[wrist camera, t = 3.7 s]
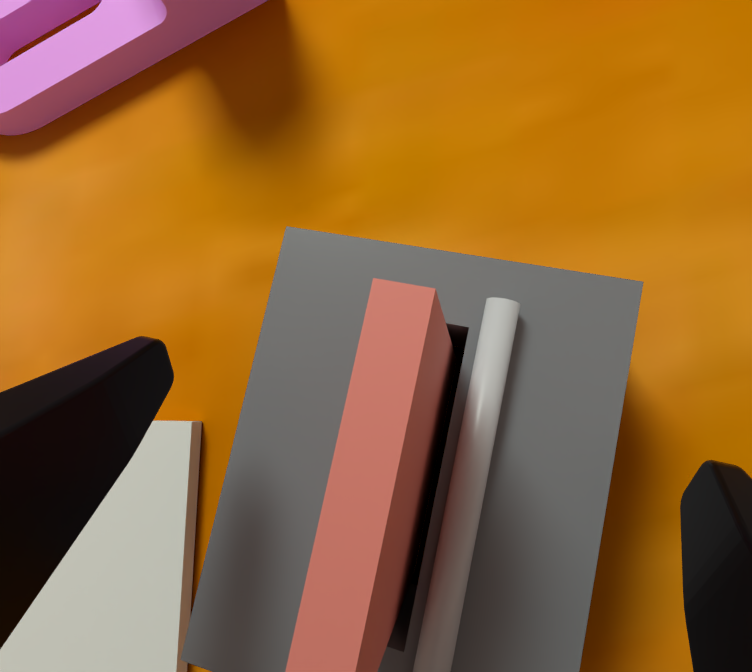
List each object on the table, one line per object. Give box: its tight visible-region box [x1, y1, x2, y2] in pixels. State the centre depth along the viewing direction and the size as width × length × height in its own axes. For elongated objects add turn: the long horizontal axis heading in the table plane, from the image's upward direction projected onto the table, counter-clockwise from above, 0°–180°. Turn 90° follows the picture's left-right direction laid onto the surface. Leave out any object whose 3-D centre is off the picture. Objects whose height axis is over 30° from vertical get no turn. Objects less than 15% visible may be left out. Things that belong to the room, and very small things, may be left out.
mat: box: [0, 421, 202, 672], centre depth 16 cm, size 14×12×1 cm
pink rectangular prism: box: [285, 278, 457, 672], centre depth 10 cm, size 6×1×9 cm, turn 167°
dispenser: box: [180, 226, 643, 672], centre depth 12 cm, size 10×8×5 cm
